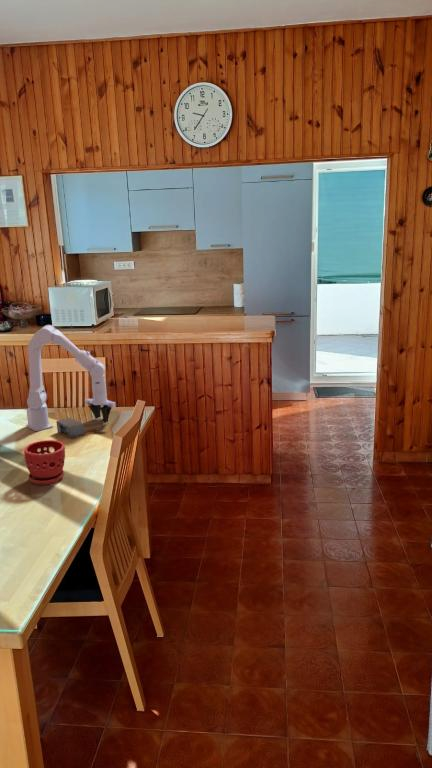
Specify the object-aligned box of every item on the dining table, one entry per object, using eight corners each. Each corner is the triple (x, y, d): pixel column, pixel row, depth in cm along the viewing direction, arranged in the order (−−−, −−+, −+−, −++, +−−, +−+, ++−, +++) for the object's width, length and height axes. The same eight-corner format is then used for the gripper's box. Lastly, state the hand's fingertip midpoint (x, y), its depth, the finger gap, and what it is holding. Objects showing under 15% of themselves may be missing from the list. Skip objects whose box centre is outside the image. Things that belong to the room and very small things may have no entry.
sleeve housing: (57, 432, 246) (56, 421, 245) (70, 428, 250) (69, 417, 249) (70, 438, 238) (69, 427, 237) (83, 434, 242) (82, 423, 241)
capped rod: (78, 431, 246) (77, 425, 245) (103, 422, 257) (103, 415, 256) (83, 433, 244) (82, 426, 243) (108, 423, 255) (108, 417, 254)
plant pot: (27, 490, 193) (23, 456, 190) (28, 474, 206) (24, 442, 203) (68, 484, 197) (64, 450, 194) (67, 469, 209) (63, 437, 206)
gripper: (79, 391, 250) (82, 422, 254) (107, 395, 243) (109, 426, 247) (90, 387, 256) (93, 417, 260) (117, 390, 249) (120, 421, 253)
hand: (102, 421), depth 254 cm, fingers closed on capped rod, 3 cm apart
